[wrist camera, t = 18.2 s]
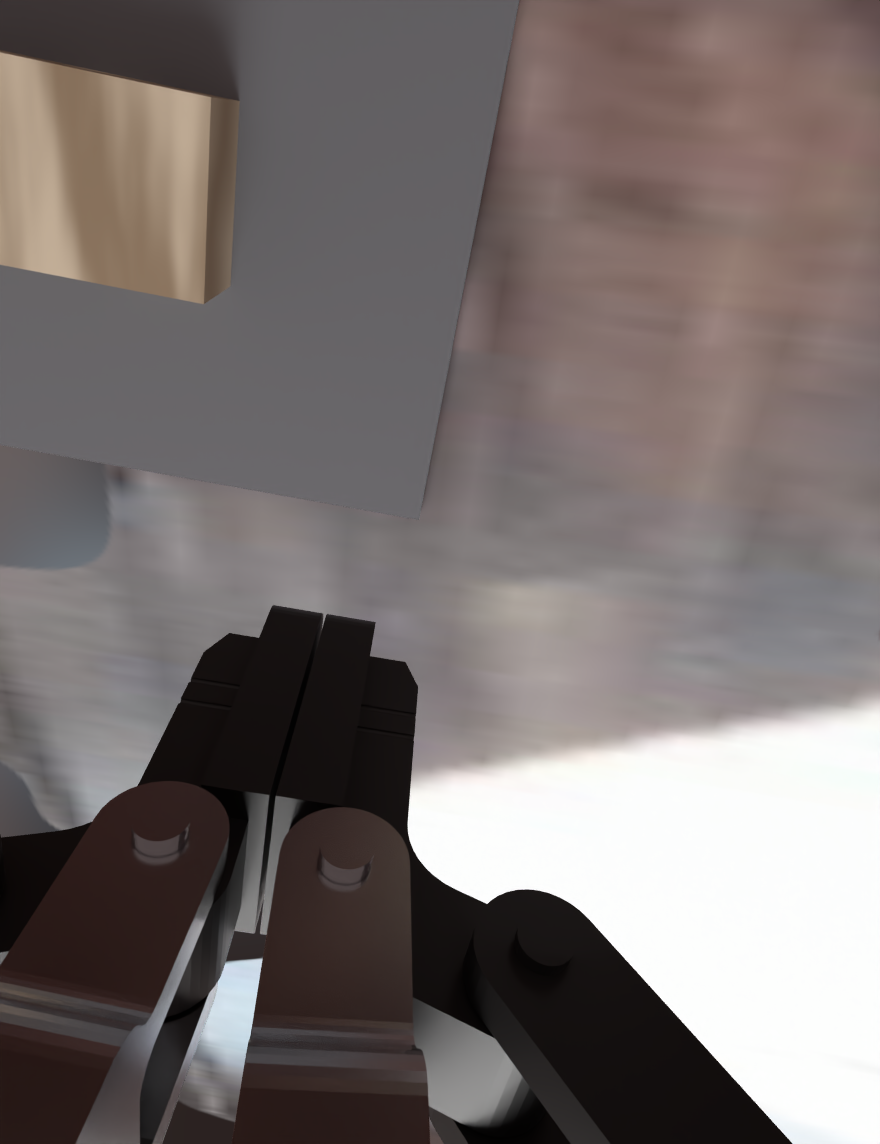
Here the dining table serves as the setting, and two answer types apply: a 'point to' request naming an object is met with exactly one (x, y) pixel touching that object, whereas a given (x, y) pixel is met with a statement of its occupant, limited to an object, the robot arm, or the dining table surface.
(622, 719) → the dining table surface
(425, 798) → the dining table surface
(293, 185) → the mat
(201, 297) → the block
